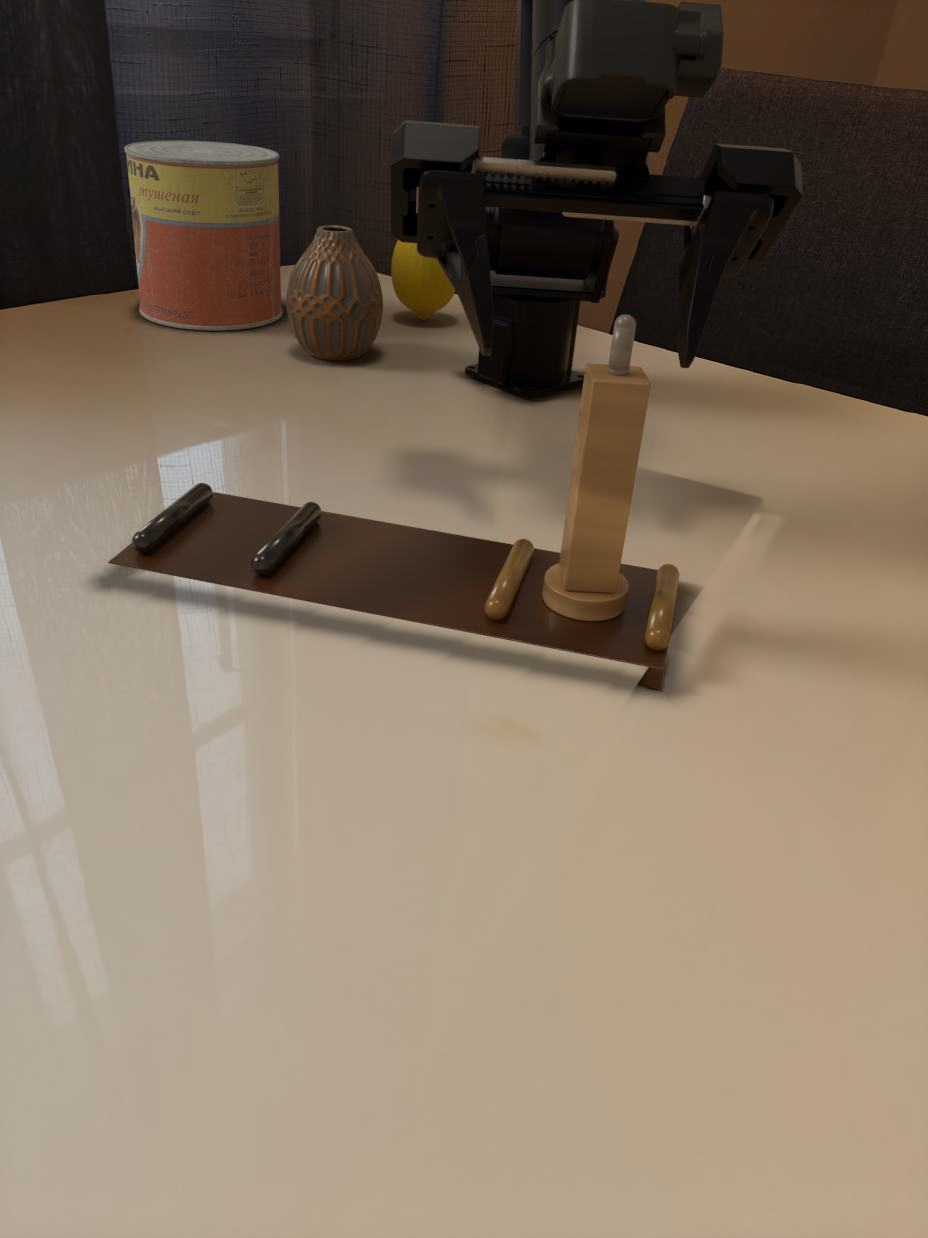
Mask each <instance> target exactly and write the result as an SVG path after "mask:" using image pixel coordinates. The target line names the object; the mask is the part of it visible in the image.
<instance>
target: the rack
mask: <svg viewBox="0 0 928 1238" xmlns="http://www.w3.org/2000/svg"><path fill="white" fill-rule="evenodd" d="M130 541H131V543H130V544H128V545H127V546H126V547H125V548H123V549H122V550H121V551H119V552H118V553H117V554H116V555H115V556H114V557H112V558H111V559H110V560H109V561H108V562H107V564H110V565H116V566H121V567H125V568H131V569H137V570H142V571H146V572H152V573H156V574H157V573H158V574H162V575H168V576H171V577H178V578H183V579H188V580H194V581H199V582H204V583H209V584H214V585H219V586H224V587H230V588H235V589H241V590H245V591H251V592H256V593H261V594H267V595H272V596H277V597H282V598H287V599H293V600H298V601H303V602H308V603H313V604H318V605H324V606H328V607H334V608H338V609H344V610H349V611H355V612H360V613H366V614H370V615H376V616H379V617H380V616H381V617H387V618H392V619H396V620H401V621H406V622H411V623H418V624H423V625H427V626H433V627H438V628H443V629H448V630H454V631H459V632H464V633H470V634H475V635H480V636H485V637H489V638H496V639H500V640H505V641H510V642H516V643H521V644H526V645H532V646H536V647H542V648H547V649H553V650H557V651H563V652H568V653H573V654H578V655H584V656H587V657H588V656H589V657H593V658H599V659H605V660H609V661H615V662H619V663H626V664H630V665H635V666H641V667H647V669H646V670H645V671H644V673H643V675H642V676H641V677H640V679H639V680H638V682H637V684H636V686H639V687H640V686H641V687H644V688H650V689H656V690H661V689H662V686H663V681H664V677H665V672H666V665H667V660H668V652H669V646H670V642H671V636H672V631H673V630H672V629H673V623H674V616H675V608H676V601H677V595H678V587H679V581H680V571H679V569H678V567H677V566H676V565H674V564H671V563H665V564H662V565H661V566H660V567H659V568H658V569H656V568H649V567H643V566H638V565H633V564H626V563H621V565H620V571H619V573H621V574H622V575H623V576H624V577H625V578H626V580H627V582H628V585H629V589H628V595H627V601H626V606H625V609H624V610H623V612H622V613H621V614H620V615H618V616H616V617H614V618H612V619H608V620H603V621H582V620H576V619H572V618H568V617H565V616H563V615H560V614H558V613H556V612H555V611H553V610H552V609H550V608H549V607H548V606H547V605H546V604H545V602H544V600H543V597H542V592H543V584H544V576H545V573H546V572H547V570H548V569H549V568H550V567H552V566H554V565H556V564H558V563H559V562H560V554H561V552H558V551H553V550H546V549H541V548H535V547H534V544H533V542H531V540H529V539H527V538H519V539H517V540H516V541H515V542H514V543H513V544H512V543H506V542H503V541H501V542H500V541H496V540H495V541H494V540H489V539H484V538H478V537H473V536H467V535H461V534H456V533H449V532H445V531H444V532H443V531H439V530H434V529H433V530H432V529H427V528H421V527H415V526H410V525H403V524H398V523H393V522H387V521H381V520H376V519H371V518H370V519H369V518H364V517H359V516H353V515H347V514H342V513H337V512H336V513H335V512H330V511H326V510H325V511H324V510H322V507H321V506H320V505H319V504H318V503H317V502H315V501H307V502H306V503H304V504H302V505H301V506H296V505H291V504H284V503H278V502H272V501H268V500H261V499H255V498H251V497H250V498H249V497H245V496H239V495H233V494H228V493H222V492H215V491H213V488H212V487H211V485H209V484H208V483H206V482H199V483H195V485H194V486H192V487H191V488H190V489H189V490H187V491H186V492H185V493H184V494H182V495H181V496H180V497H179V498H177V499H176V500H175V501H174V502H173V503H171V504H170V505H168V506H167V507H166V508H165V509H164V510H162V511H161V512H160V513H158V514H157V515H156V516H155V517H153V518H152V519H151V520H150V521H149V522H147V523H146V524H145V525H143V527H141V528H140V529H139V530H138V531H136V532H135V533H134V534H133V536H132V537H131V540H130Z"/></svg>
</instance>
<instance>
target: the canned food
mask: <svg viewBox="0 0 928 1238" xmlns="http://www.w3.org/2000/svg"><path fill="white" fill-rule="evenodd" d="M124 153H125V154H126V165H127V166H126V167H127V177H128V185H129V186H128V187H129V196H130V208H131V219H132V228H133V229H132V230H133V241H134V252H135V261H136V263H135V264H136V273H137V284H138V294H139V304H140V305H139V314H140V315H141V316H142V317H143V318H144V319H146V320H148V321H150V322H152V323H154V324H158V325H161V326H165V327H170V328H177V329H184V330H192V331H209V332H214V331H215V332H221V331H240V330H247V329H248V330H249V329H255V328H260V327H263V326H266V325H270V324H273V323H274V322H277V321H278V320H280V318H282V316H283V314H284V313H283V308H282V279H281V278H282V277H281V276H282V275H281V237H280V235H281V232H280V187H279V184H280V183H279V159H280V154H279V152H277V151H275V150H272V149H269V148H264V147H261V146H256V145H249V144H241V143H232V142H221V141H208V140H181V139H180V140H178V139H175V140H171V139H170V140H168V139H167V140H166V139H165V140H149V141H148V140H147V141H138V142H132V143H129V144H126V145H125V146H124Z"/></svg>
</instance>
